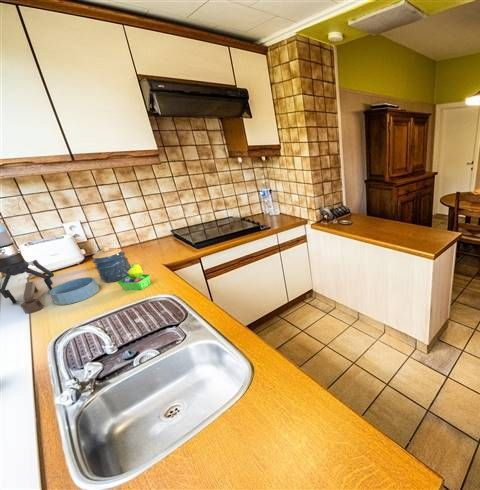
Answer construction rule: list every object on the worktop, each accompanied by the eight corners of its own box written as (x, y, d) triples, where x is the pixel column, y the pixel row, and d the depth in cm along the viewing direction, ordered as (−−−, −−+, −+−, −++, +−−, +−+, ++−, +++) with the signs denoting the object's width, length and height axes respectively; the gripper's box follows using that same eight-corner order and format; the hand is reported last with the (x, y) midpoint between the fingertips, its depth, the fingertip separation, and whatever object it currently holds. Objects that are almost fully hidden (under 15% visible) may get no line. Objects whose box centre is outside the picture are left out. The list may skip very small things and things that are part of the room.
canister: (129, 268, 152) (116, 240, 145) (137, 274, 145) (123, 244, 138) (99, 278, 142) (83, 249, 135) (106, 285, 135) (90, 254, 128)
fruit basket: (120, 291, 129) (110, 271, 124) (135, 282, 137) (126, 262, 132) (142, 291, 128) (133, 271, 124) (156, 281, 136) (148, 262, 132)
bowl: (55, 297, 127) (48, 287, 124) (98, 284, 137) (92, 274, 135) (55, 309, 117) (48, 298, 115) (101, 294, 128) (95, 283, 125)
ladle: (27, 295, 130) (20, 284, 127) (44, 290, 134) (37, 279, 131) (24, 315, 115) (16, 303, 112) (44, 308, 119) (36, 297, 116)
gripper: (-41, 268, 107) (-7, 312, 116) (45, 248, 123) (69, 288, 132) (-37, 263, 112) (-5, 305, 120) (46, 244, 127) (68, 283, 136)
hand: (34, 296), depth 126 cm, fingers open, 11 cm apart
